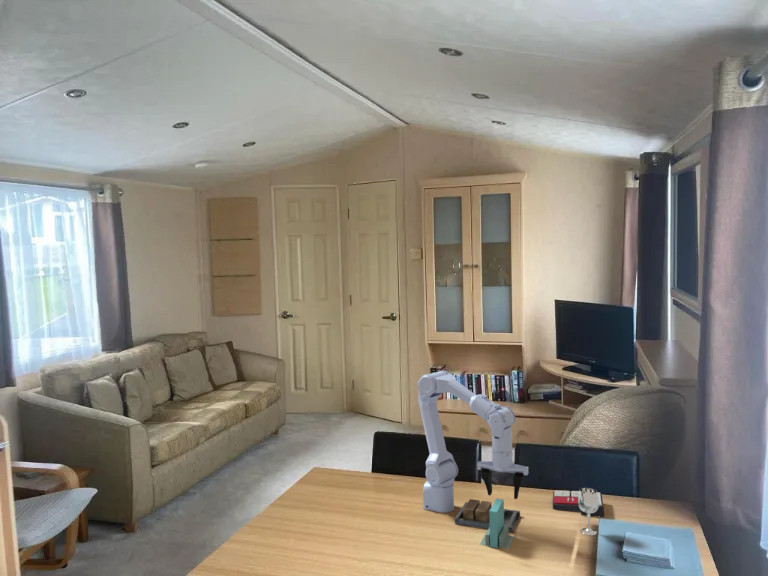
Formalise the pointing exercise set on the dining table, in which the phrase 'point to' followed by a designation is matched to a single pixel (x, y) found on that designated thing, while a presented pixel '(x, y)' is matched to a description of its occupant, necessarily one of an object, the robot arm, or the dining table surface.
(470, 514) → the offcut
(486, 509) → the offcut
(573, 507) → the black red box
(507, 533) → the stand
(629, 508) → the dining table surface
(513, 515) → the rack
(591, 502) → the wineglass
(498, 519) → the teal flat block
